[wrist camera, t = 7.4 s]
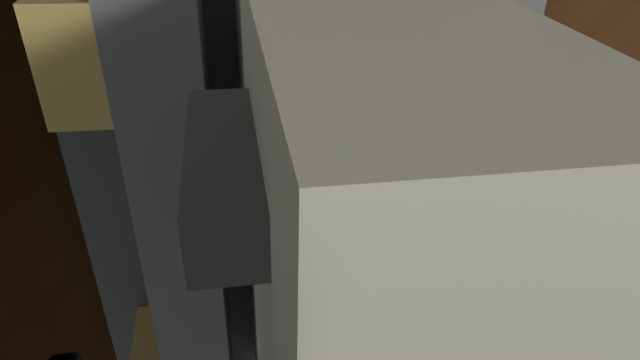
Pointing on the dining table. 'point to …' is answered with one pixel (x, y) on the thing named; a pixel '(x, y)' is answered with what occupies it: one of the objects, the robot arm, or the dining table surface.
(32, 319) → the dining table surface
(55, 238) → the dining table surface
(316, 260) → the white rectangular block
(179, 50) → the clip plinth
